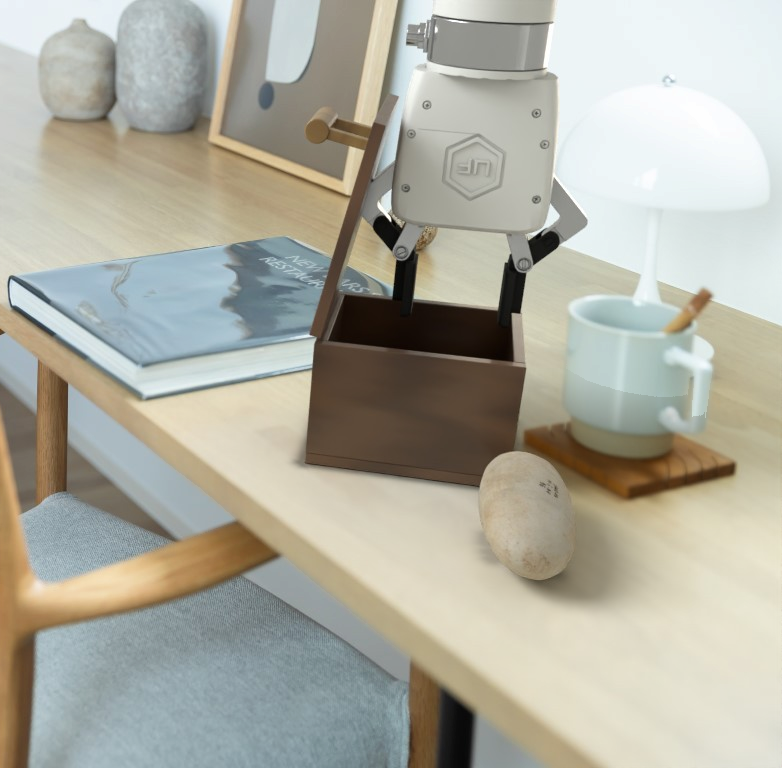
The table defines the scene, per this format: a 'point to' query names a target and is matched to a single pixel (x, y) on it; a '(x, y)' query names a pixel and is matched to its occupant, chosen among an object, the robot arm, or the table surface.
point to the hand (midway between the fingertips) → (454, 314)
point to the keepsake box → (415, 388)
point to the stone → (527, 515)
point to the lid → (373, 147)
